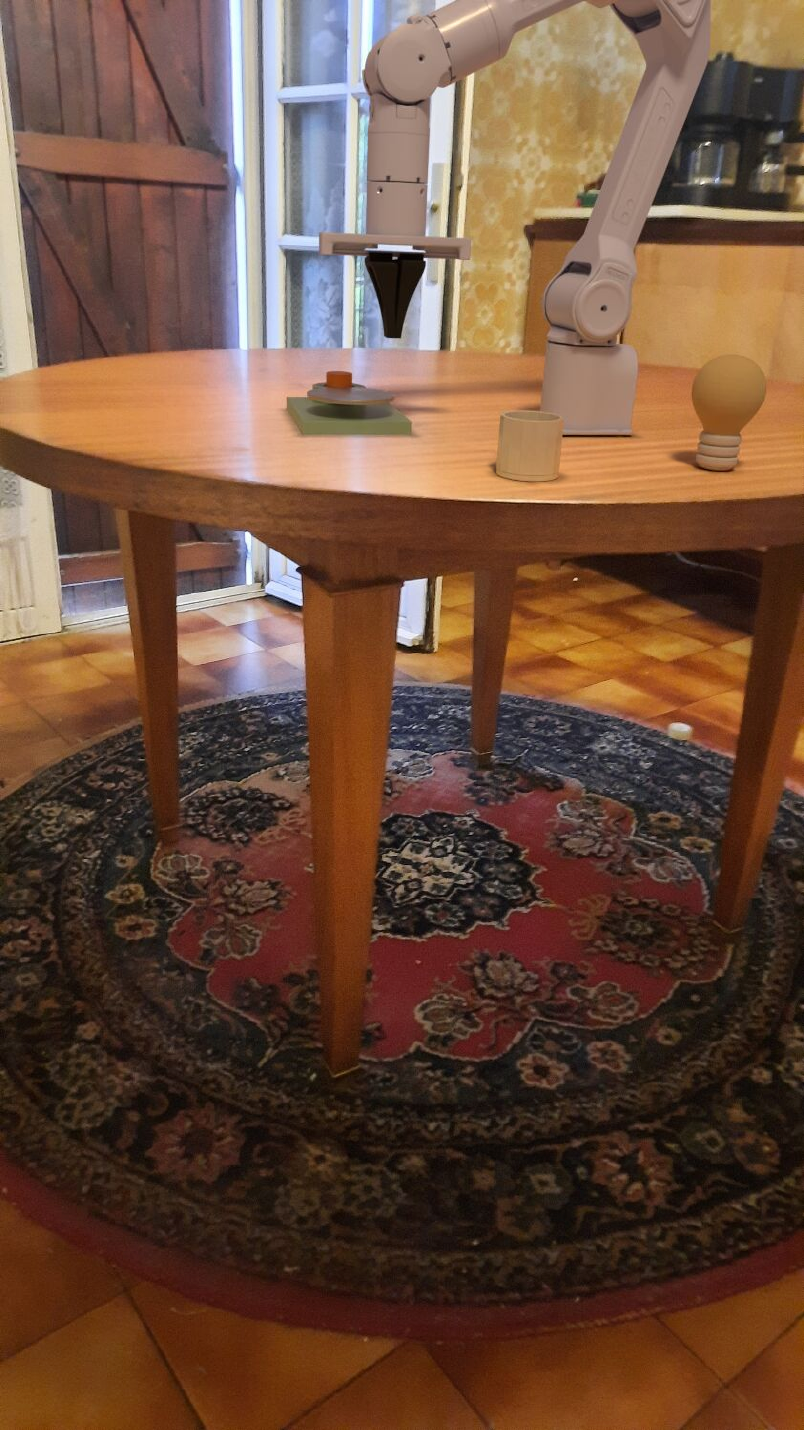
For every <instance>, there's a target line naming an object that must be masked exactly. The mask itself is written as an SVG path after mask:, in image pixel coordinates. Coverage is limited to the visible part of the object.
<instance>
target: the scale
mask: <svg viewBox="0 0 804 1430" xmlns="http://www.w3.org/2000/svg"><path fill="white" fill-rule="evenodd" d="M352 387H358V388H367V387H366V386H365V385H364V384H359V383H354V382H352ZM311 388H312V389H317V388H326V381H324V382H316V383H314V384H312V387H311ZM312 389H311V390H312ZM286 410H287V413H288V414H289V415H290V417H291V419H292V420H293V422H294V423H295V425H296V426H297V428H298V430H299V431H300V433H301V435H302V436H412V429H413V422H412V421H411V420H410V419H409V417H407V416H406V415H405V414H403V413H402V412H401V411H400V410H398V409H397V408H396V407H395V406H394V405H392V404H391V402H388V403H383V404H371V405H348V404H334V403H326V402H320V401H315V400H312V399H310V398H308V397H307V396H286Z"/></svg>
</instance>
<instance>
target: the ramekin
mask: <svg viewBox="0 0 804 1430" xmlns="http://www.w3.org/2000/svg"><path fill="white" fill-rule="evenodd" d="M498 425H499V426H498V439H497V452H496V461H495V462H496V465H495V468H496V469H495V473H496V475H497V476H499V477H502V478H503V479H504V478H505V479H507V480H512V481H519V482H531V483H532V482H533V483H534V482H535V483H536V482H549V481H553V480H557V479H558V477H559V471H560V464H561V454H562V445H563V436H564V435H563V427H564V417H563V416H561V415H558V414H554V413H549V412H542V411H540V410H527V409H526V410H525V409H523V410H520V409H519V410H518V409H517V410H516V409H515V410H507V411H503V412H500V415H499V424H498Z"/></svg>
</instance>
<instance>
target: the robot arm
mask: <svg viewBox="0 0 804 1430" xmlns="http://www.w3.org/2000/svg"><path fill="white" fill-rule="evenodd" d="M711 1H712V0H453V1H451V2H449V3H448V4H445V5H443V6H442V7H439V8H438V9H436V10H433V11H432V12H429V13H428V14H426V15H423V16H421V13H419V12H416V13H414V14H413V15H410V16H409V17H407V18H406V23H401V24H399V25H398V26H397V27H396V29H394V30H392V31H390V32H389V33H388V34H386V35H385V36H383V37H382V38H380V39H379V40H378V41H377V42H376V43H374V45H372V47H371V49H370V51H369V52H368V53H367V57H366V59H365V65H364V69H362V70H361V78H362V79H361V80H362V84H363V86H364V89H365V92H366V94H367V95H368V97H369V107H368V112H369V113H368V114H369V123H368V126H367V149H366V151H367V153H366V154H367V156H366V157H367V158H366V208H365V209H366V214H365V215H366V216H365V233H351V232H350V233H349V232H348V233H347V232H323V231H321V232H320V231H319V232H318V254H319V255H321V256H353V257H364V266H365V269H366V271H367V273H368V276H369V278H370V281H371V283H372V286H373V289H374V292H375V296H376V298H377V303H378V307H379V310H380V315H381V321H382V330H383V337H385V338H386V339H402V335H403V328H404V324H405V321H406V317H407V312H408V310H409V306H410V303H411V301H412V298H413V296H414V293H415V291H416V289H417V287H418V284H419V283H420V280H421V279H422V276H423V274H425V270H426V267H427V261H426V260H424V259H440V260H441V259H442V260H459V261H460V260H461V261H470V260H471V254H472V253H471V252H472V251H471V250H472V238H470V237H469V238H468V237H452V236H449V237H448V236H427V235H426V234H427V233H426V232H427V231H426V230H427V213H428V212H427V209H428V207H427V206H428V183H429V182H428V181H429V161H430V137H431V128H430V115H431V113H430V112H431V97H432V95H433V94H434V93H435V92H436V90H437V88H442V89H444V88H446V87H448V86H450V85H453V84H454V83H457V82H459V81H461V80H463V79H465V78H466V77H469V76H470V75H473V74H474V73H476V72H478V71H480V70H482V69H485V68H486V67H489V66H490V65H492V64H494V63H496V62H499V61H500V60H502V59H504V58H505V57H506V56H507V54H508V51H509V49H510V46H511V43H512V42H513V38H514V36H515V34H516V33H518V32H520V31H523V30H524V29H527V28H529V27H531V26H534V25H535V24H537V23H539V22H541V21H544V20H547V19H549V18H550V17H552V16H555V15H556V14H558V13H560V12H563V11H565V10H567V9H569V8H571V7H574V6H575V5H577V4H580V3H583V2H585V3H587V4H589V5H591V6H593V7H595V8H597V9H603V8H606V7H608V6H609V7H610V9H611V11H612V12H613V13H614V15H615V16H616V17H617V19H618V20H619V21H620V22H621V24H622V25H623V26H624V27H625V29H626V30H627V31H628V33H630V35H631V36H632V37H633V38H634V40H636V42H637V45H638V48H639V49H640V52H641V54H642V57H643V59H644V61H645V69H644V72H643V74H642V77H641V80H640V82H639V85H638V87H637V90H636V93H635V96H634V98H633V101H632V103H631V107H630V109H629V113H628V115H627V117H626V120H625V122H624V125H623V127H622V130H621V134H620V136H619V139H618V141H617V144H616V147H615V149H614V152H613V155H612V157H611V160H610V162H609V165H608V168H607V170H606V173H605V176H604V179H603V182H602V183H601V186H600V189H599V192H598V195H597V197H596V199H595V203H594V206H593V208H592V211H591V213H590V216H589V219H588V221H587V225H586V226H585V229H584V233H583V234H582V236H581V237H580V238H579V240H577V242H576V243H575V244H574V245H573V247H571V249H569V251H568V253H567V254H566V256H565V258H564V261H563V264H562V265H561V268H560V269H559V270H558V272H557V273H556V275H554V276H553V278H551V279H550V280H549V282H548V283H547V284H546V286H545V288H544V290H543V293H542V298H541V309H542V314H543V317H544V320H545V321H546V323H547V324H548V326H549V330H548V333H547V335H546V343H545V352H544V353H545V354H544V363H543V364H544V365H543V375H542V387H541V396H540V406H539V411H542V412H549V413H554V414H558V415H561V416H563V417H564V427H563V436H633V435H634V430H633V429H632V424H633V417H634V410H635V409H634V408H635V401H636V393H637V387H638V380H639V358H638V353H637V351H636V349H635V348H634V347H633V345H630V344H626V343H618V336H619V334H621V333H622V332H623V330H624V329H625V328H626V326H627V325H628V323H629V320H630V319H631V318H630V317H631V314H632V308H633V296H632V294H633V288H634V284H635V281H636V279H637V276H638V266H637V262H636V258H635V253H634V252H635V248H636V246H637V243H638V240H639V238H640V236H641V233H642V231H643V229H644V225H645V223H646V220H647V218H648V215H649V213H650V211H651V208H652V205H653V202H654V200H655V197H656V195H657V192H658V190H659V188H660V185H661V182H662V179H663V177H664V174H665V172H666V170H667V166H668V164H669V161H670V159H671V157H672V154H673V152H674V150H675V146H676V144H677V142H678V139H679V137H680V133H681V132H682V129H683V126H684V124H685V121H686V118H687V116H688V113H689V111H690V108H691V106H692V104H693V100H694V98H695V95H696V93H697V91H698V88H699V85H700V83H701V81H702V77H703V75H704V73H705V70H706V68H707V65H708V62H709V58H710V54H711V8H712V7H711V5H712V2H711ZM381 245H383V246H403V247H404V246H405V247H406V246H407V247H408V246H409V247H412V248H411V249H412V250H413V251H399V250H398V251H396V250H395V251H394V250H377V249H379V246H381ZM367 249H370V250H367ZM372 249H373V250H372ZM374 249H375V250H374ZM420 251H421V252H420ZM422 251H423V252H422ZM393 258H394V259H393Z"/></svg>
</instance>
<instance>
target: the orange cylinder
mask: <svg viewBox="0 0 804 1430" xmlns="http://www.w3.org/2000/svg"><path fill="white" fill-rule="evenodd" d="M325 375H326V376H325V379H326V380H325V382H326V387H352V383H353V373H352V372H350V371H346V370H345V371H343V370H329V371H327V372H326V373H325Z"/></svg>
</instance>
